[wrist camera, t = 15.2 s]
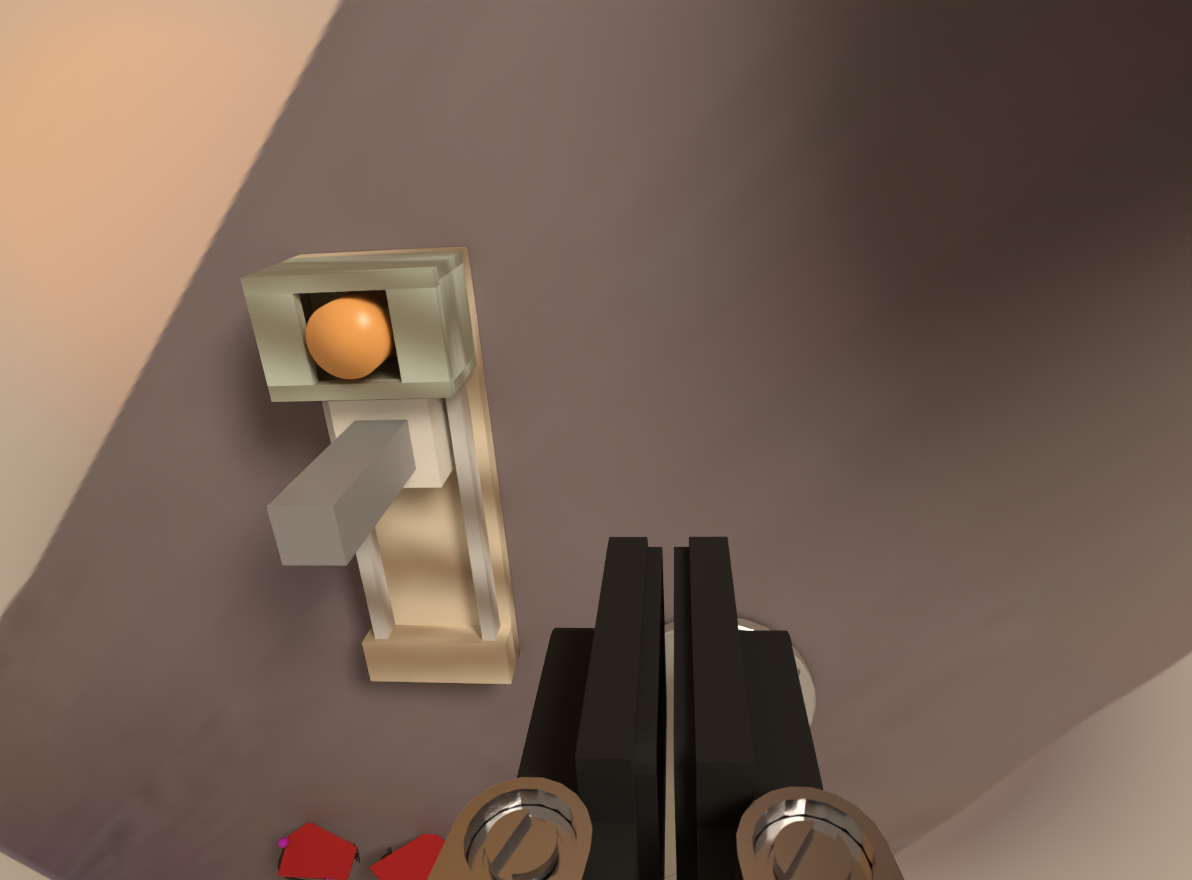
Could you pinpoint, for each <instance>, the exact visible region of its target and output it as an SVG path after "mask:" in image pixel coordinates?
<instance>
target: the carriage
mask: <svg viewBox="0 0 1192 880" xmlns="http://www.w3.org/2000/svg"><path fill="white" fill-rule="evenodd" d="M328 404H329V408H330V413H331V417H332V422H333V426H334V431H335V435H336V439H335V440H334V441H333V442H332V443H331V444H330V445H329V446H328V447H327V448H326V449H325V450H324V451H323V452H322V453H321V454H320V455H319V456H318V457H317V458H316V459H315V460H314V461H313V462H312V463H311V464H310V465H309V466H308V467H306V468H305V469H304V470H303V471H302V472H301V473H300V474H299V475H298V476H297V477H296V478H295V479H294V480H293V481H292V482H291V483H290V484H289V485H288V486H287V487H286V488H285V489H284V490H283V491H282V492H281V493H280V494H279V495H278V496H277V497H276V498H275V499H274V500H273V501H272V502H271V503H269V504H268V505H267V506H266V507H267V510H268V514H269V518H270V521H271V525H272V529H273V532H274V536H275V539H276V543H277V547H278V550H279V554H280V558H281V561H282V565H328V566H347V565H348V563H349V562H350V560H351V559H352V558H353V556H354V555H355V553H356V552H357V551H358V549H359V548H360V546H361V545H362V544H363V542H364V541H365V539H366V538H367V537H368V535H369V534H370V533H371V531H372V530H373V528H374V527H375V526H376V524H377V523H378V521H379V520H380V519H381V517H382V516H383V514H384V513H385V512H386V510H387V509H388V508H389V506H390V505H391V503H392V502H393V501H394V499H395V498H396V496H397V495H398V494H399V492H400V491H401V489H402V488H441V487H442V486H443V484H444V483H445V481H446V479H447V478H448V476H449V475H450V473H451V471H452V470H453V468H454V466H455V464H454V457H453V451H452V444H451V438H450V431H449V425H448V418H447V412H446V405H445V399H444V398H413V399H371V400H330V401H328Z"/></svg>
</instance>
